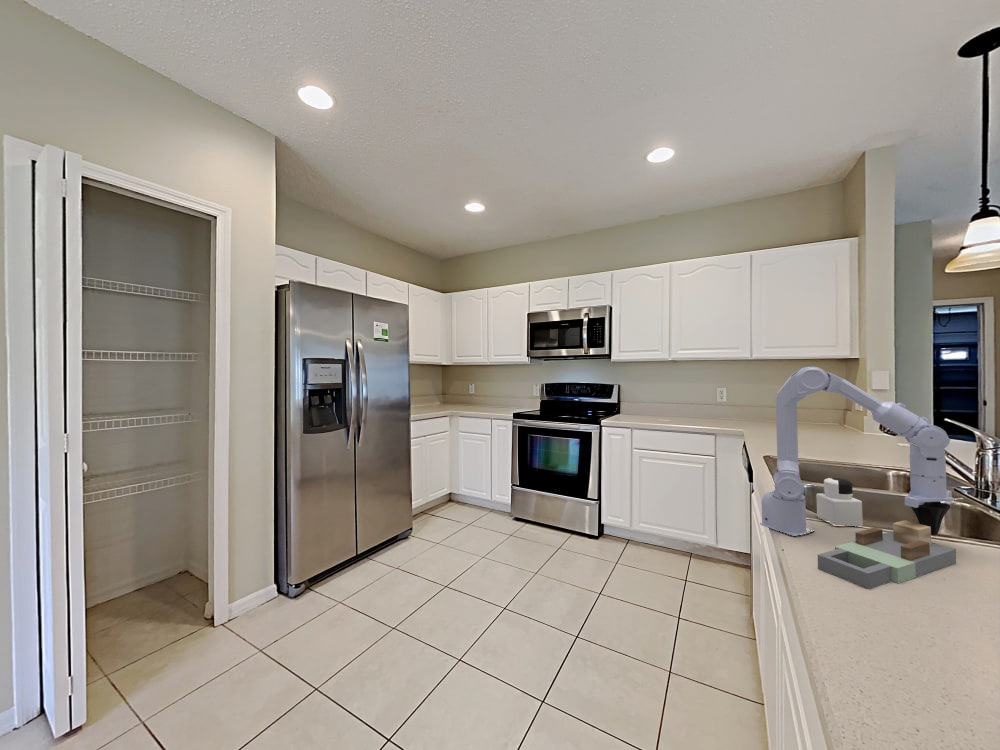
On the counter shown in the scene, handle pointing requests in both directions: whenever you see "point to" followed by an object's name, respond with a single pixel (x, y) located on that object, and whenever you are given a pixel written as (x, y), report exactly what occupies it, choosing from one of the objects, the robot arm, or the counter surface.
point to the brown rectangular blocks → (907, 551)
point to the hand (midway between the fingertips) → (929, 533)
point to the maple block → (911, 532)
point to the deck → (882, 562)
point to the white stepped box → (839, 503)
